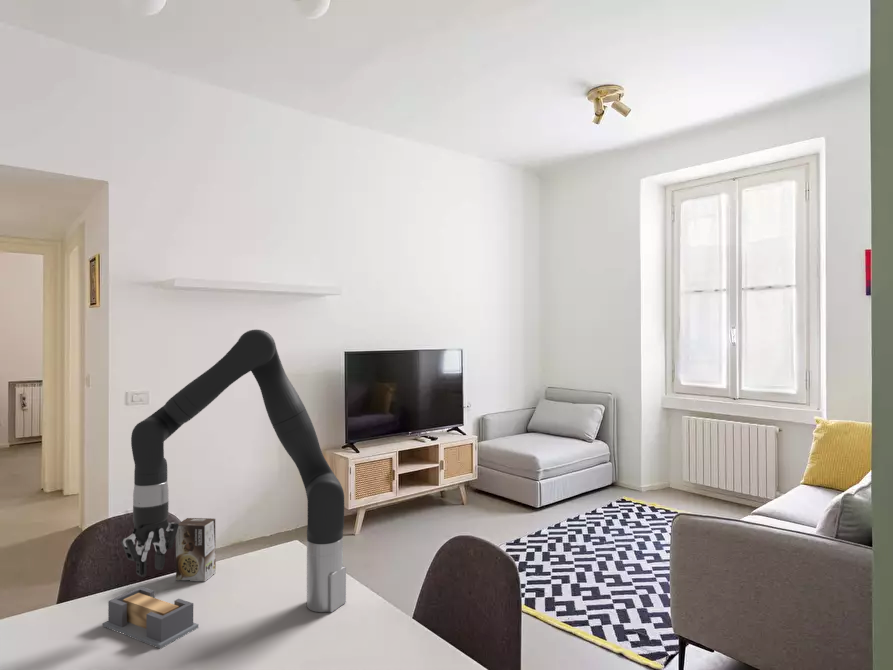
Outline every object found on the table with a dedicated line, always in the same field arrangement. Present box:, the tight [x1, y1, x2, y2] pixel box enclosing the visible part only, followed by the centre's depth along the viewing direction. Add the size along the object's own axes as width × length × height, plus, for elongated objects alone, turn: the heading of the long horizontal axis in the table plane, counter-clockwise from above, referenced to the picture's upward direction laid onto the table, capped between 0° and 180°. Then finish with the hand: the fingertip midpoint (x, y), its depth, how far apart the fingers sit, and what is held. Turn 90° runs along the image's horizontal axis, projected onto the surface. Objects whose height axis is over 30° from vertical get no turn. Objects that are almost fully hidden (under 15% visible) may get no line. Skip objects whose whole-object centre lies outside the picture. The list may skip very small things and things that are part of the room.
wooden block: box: [123, 593, 179, 629], centre depth 132 cm, size 15×4×5 cm, turn 63°
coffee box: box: [175, 517, 217, 582], centre depth 160 cm, size 9×6×16 cm
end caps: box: [102, 586, 199, 649], centre depth 132 cm, size 21×10×6 cm, turn 63°
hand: (150, 572), depth 132 cm, fingers open, 3 cm apart
